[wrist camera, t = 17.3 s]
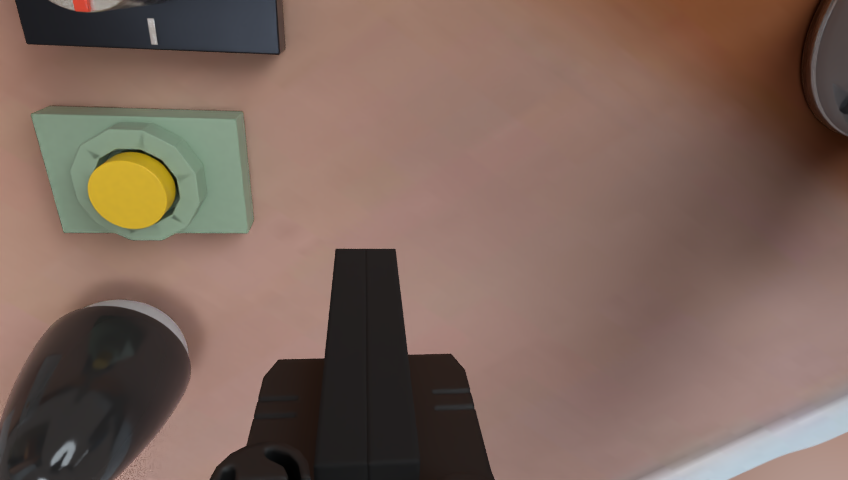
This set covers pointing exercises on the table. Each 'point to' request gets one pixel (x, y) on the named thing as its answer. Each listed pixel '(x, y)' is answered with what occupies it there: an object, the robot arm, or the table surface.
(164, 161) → the button box
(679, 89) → the table surface
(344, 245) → the table surface
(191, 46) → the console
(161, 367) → the pump dispenser
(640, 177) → the table surface
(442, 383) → the robot arm
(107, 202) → the button
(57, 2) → the dial
